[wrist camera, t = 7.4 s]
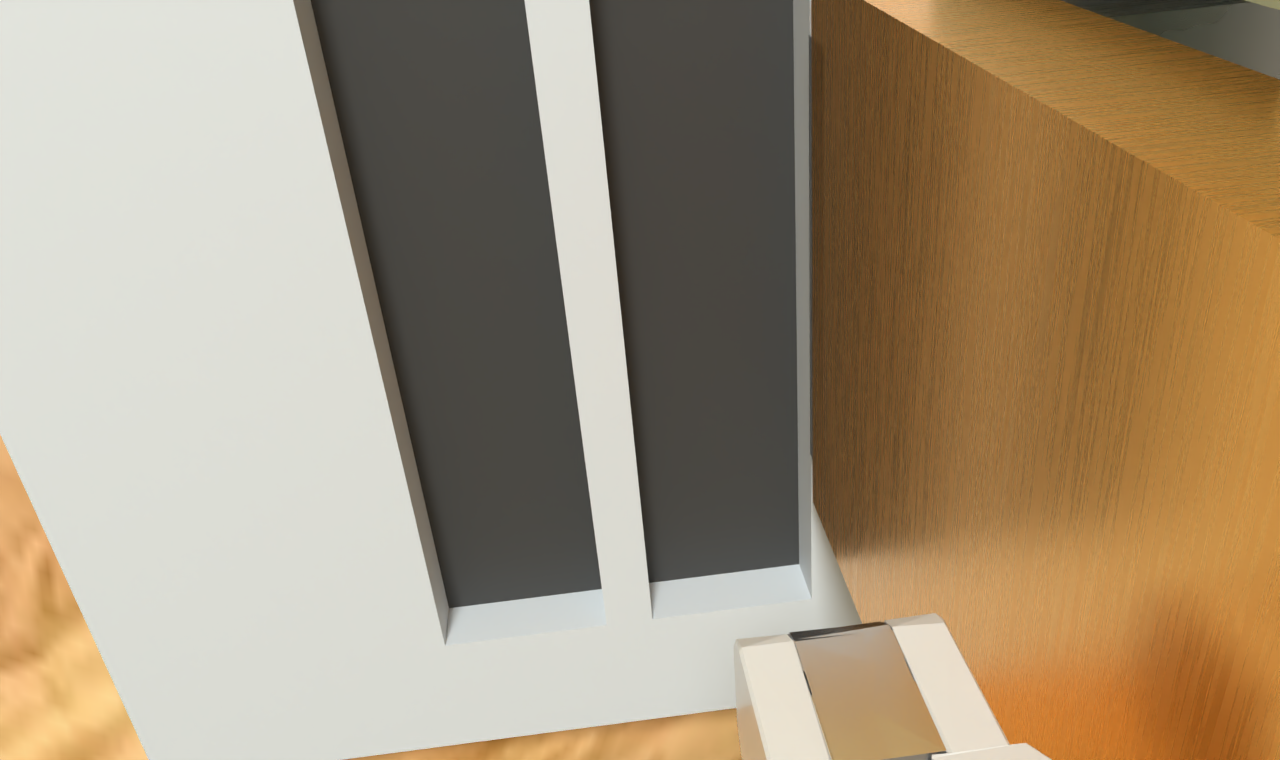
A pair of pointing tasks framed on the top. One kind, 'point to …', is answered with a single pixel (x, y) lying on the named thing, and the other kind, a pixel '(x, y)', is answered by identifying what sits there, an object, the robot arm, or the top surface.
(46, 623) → the top surface
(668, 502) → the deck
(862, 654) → the robot arm
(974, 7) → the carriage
